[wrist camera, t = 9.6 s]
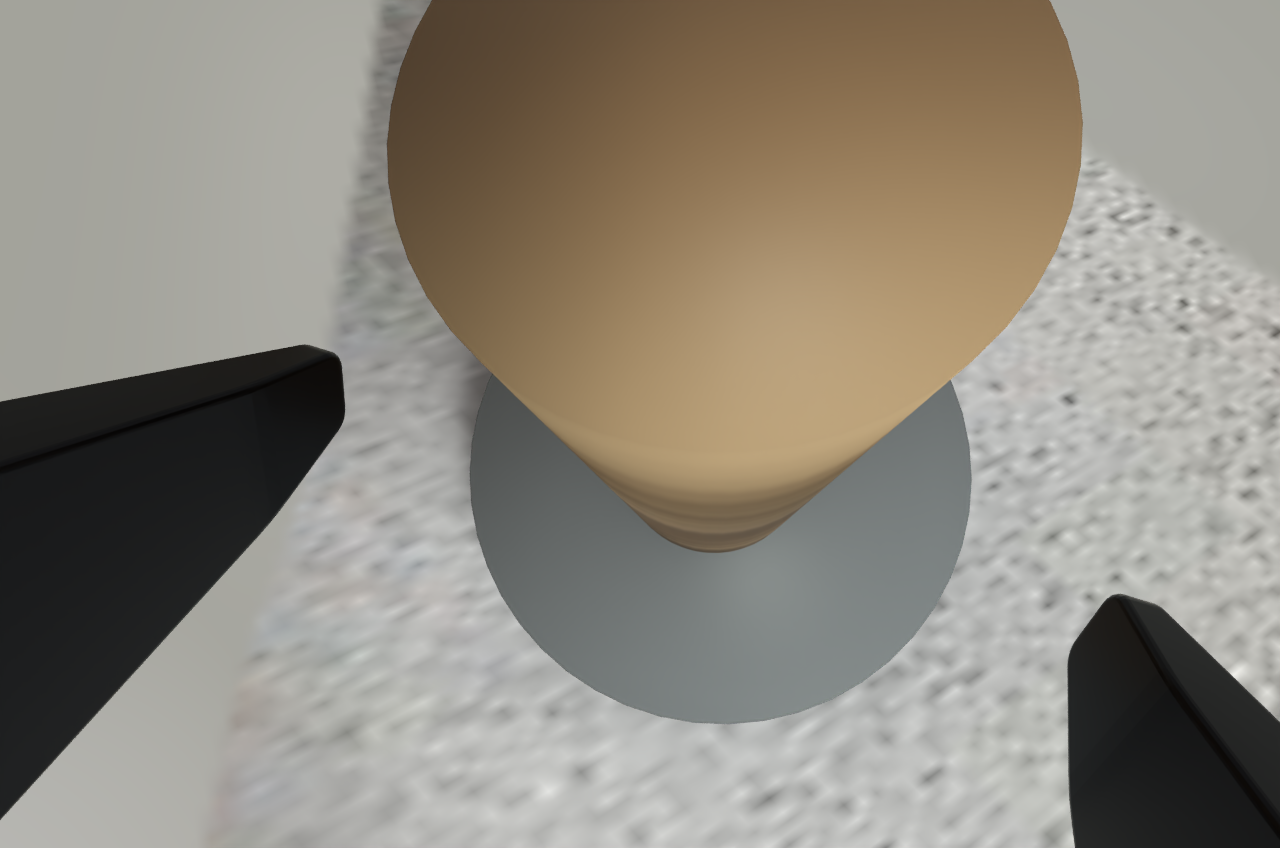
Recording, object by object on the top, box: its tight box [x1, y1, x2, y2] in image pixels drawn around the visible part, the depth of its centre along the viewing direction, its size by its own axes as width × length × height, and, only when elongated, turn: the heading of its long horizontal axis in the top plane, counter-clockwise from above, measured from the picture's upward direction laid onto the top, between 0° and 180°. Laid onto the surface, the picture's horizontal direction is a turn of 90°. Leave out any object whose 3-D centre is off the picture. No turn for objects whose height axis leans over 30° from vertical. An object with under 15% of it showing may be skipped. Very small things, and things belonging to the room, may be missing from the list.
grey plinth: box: [470, 374, 972, 724], centre depth 18 cm, size 11×11×2 cm
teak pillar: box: [387, 0, 1083, 553], centre depth 10 cm, size 4×4×12 cm
